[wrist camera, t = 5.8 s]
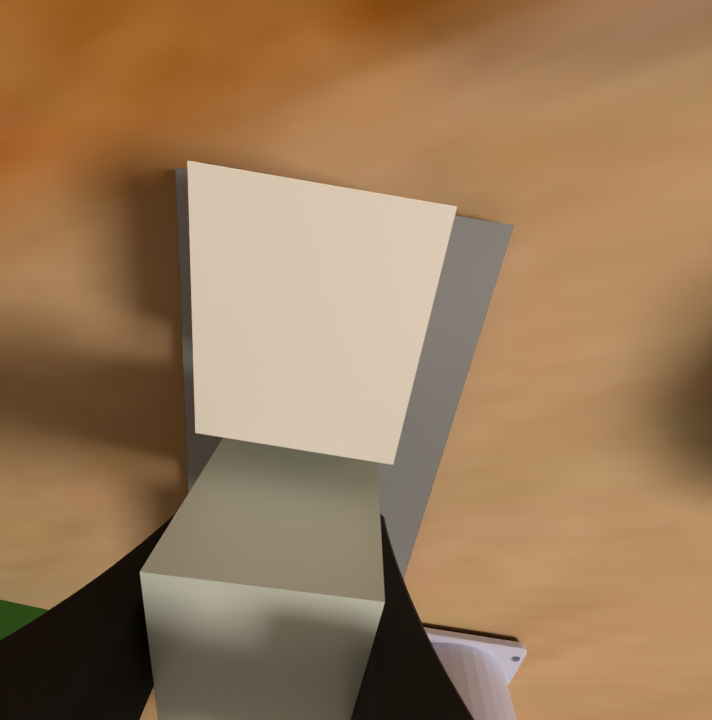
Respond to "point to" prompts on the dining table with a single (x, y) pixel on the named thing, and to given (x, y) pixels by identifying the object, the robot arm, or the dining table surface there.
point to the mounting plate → (329, 324)
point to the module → (266, 587)
